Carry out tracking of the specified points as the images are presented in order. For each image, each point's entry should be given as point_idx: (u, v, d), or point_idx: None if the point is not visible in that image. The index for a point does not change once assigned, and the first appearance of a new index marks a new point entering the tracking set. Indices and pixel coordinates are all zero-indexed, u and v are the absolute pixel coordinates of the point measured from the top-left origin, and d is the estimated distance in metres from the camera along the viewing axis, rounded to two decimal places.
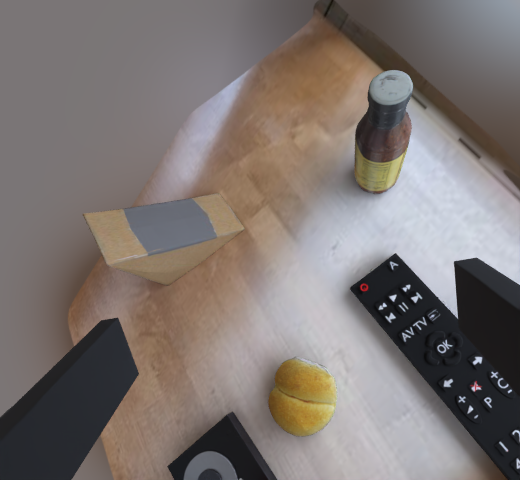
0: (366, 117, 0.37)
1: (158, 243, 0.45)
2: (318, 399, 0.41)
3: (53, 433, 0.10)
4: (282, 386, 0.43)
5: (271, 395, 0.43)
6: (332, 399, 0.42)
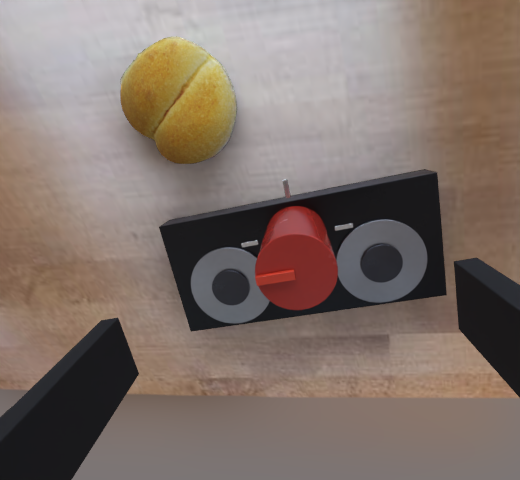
0: None
1: None
2: (185, 72, 0.24)
3: (53, 433, 0.10)
4: (147, 123, 0.25)
5: (159, 149, 0.27)
6: (198, 53, 0.25)
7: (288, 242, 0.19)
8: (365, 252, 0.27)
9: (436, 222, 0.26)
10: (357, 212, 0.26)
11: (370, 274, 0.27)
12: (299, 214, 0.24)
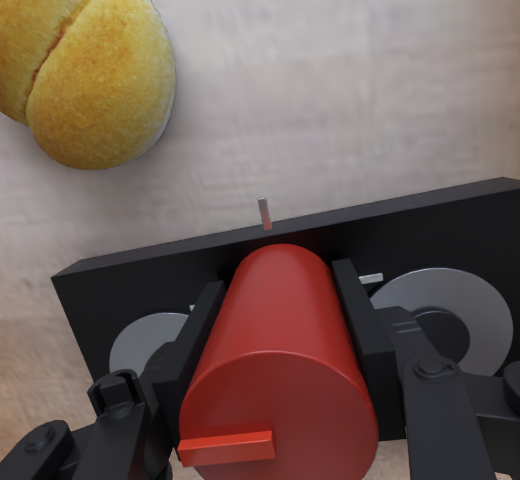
0: None
1: None
2: None
3: None
4: (6, 95, 0.14)
5: (40, 145, 0.15)
6: None
7: (256, 371, 0.08)
8: None
9: None
10: (391, 255, 0.15)
11: None
12: (287, 269, 0.12)
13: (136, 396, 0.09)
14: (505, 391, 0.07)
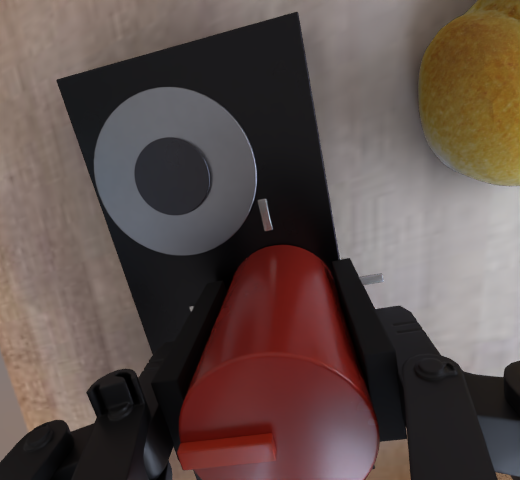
0: None
1: None
2: None
3: None
4: None
5: (466, 22, 0.13)
6: None
7: (255, 373, 0.08)
8: None
9: None
10: None
11: None
12: (287, 270, 0.12)
13: (135, 396, 0.09)
14: (506, 391, 0.07)
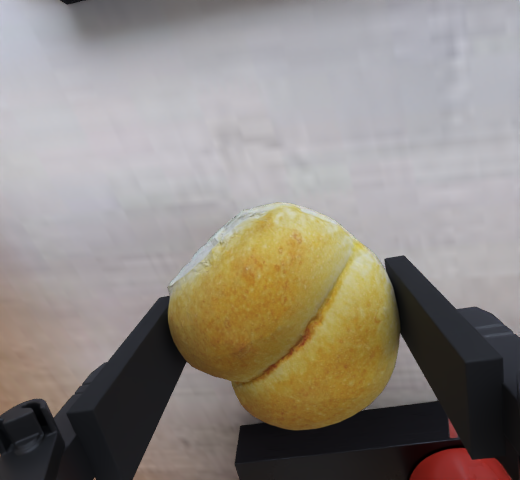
0: None
1: None
2: (317, 297, 0.11)
3: (139, 391, 0.11)
4: (226, 377, 0.12)
5: (240, 403, 0.14)
6: (340, 247, 0.12)
7: None
8: None
9: None
10: None
11: None
12: None
13: (46, 427, 0.08)
14: None
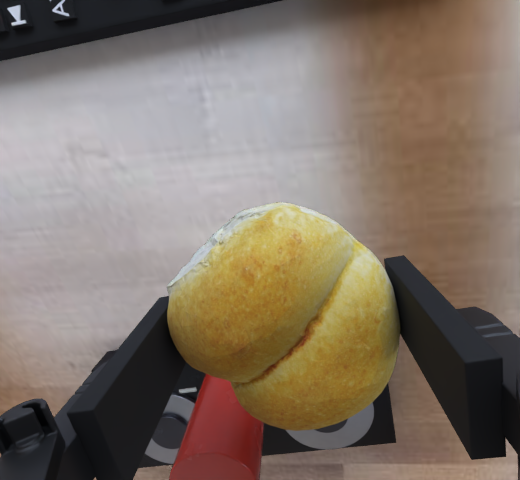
0: None
1: None
2: (317, 297, 0.11)
3: (139, 391, 0.11)
4: (226, 378, 0.12)
5: (240, 403, 0.14)
6: (340, 247, 0.12)
7: None
8: None
9: None
10: None
11: None
12: None
13: (46, 426, 0.08)
14: None
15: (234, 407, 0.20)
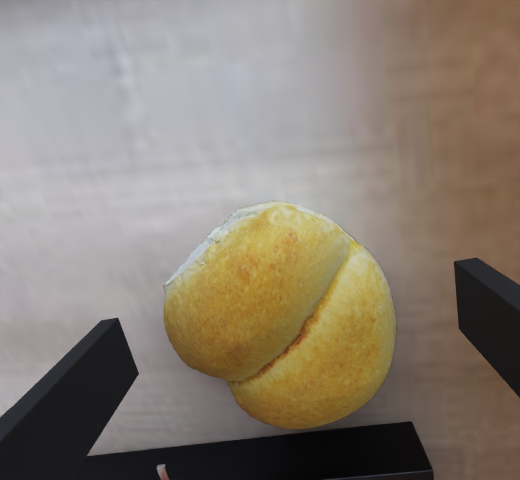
0: None
1: None
2: (312, 296, 0.11)
3: (53, 433, 0.10)
4: (222, 376, 0.12)
5: (237, 402, 0.14)
6: (336, 246, 0.12)
7: None
8: None
9: None
10: None
11: None
12: None
13: None
14: None
15: None
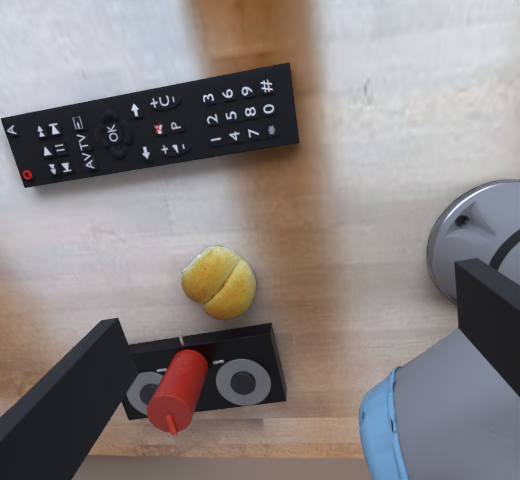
0: None
1: None
2: (225, 274, 0.39)
3: (53, 433, 0.10)
4: (200, 300, 0.40)
5: None
6: (233, 260, 0.39)
7: (151, 417, 0.36)
8: (232, 377, 0.43)
9: (273, 360, 0.42)
10: (226, 353, 0.42)
11: (236, 390, 0.43)
12: None
13: None
14: None
15: (183, 376, 0.38)
